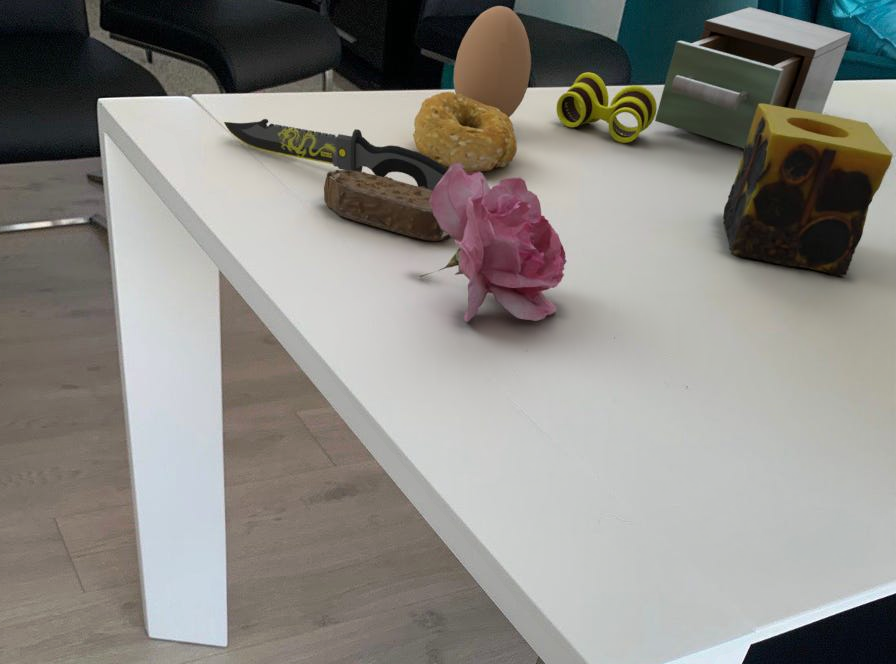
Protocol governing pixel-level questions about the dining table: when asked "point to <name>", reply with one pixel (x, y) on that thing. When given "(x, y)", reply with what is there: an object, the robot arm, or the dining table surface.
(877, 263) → the dining table surface
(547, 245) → the flower
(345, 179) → the ice cream bar
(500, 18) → the egg
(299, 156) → the knife
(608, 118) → the opera glasses
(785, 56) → the drawer
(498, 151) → the bagel
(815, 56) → the cabinet
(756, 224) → the candle
